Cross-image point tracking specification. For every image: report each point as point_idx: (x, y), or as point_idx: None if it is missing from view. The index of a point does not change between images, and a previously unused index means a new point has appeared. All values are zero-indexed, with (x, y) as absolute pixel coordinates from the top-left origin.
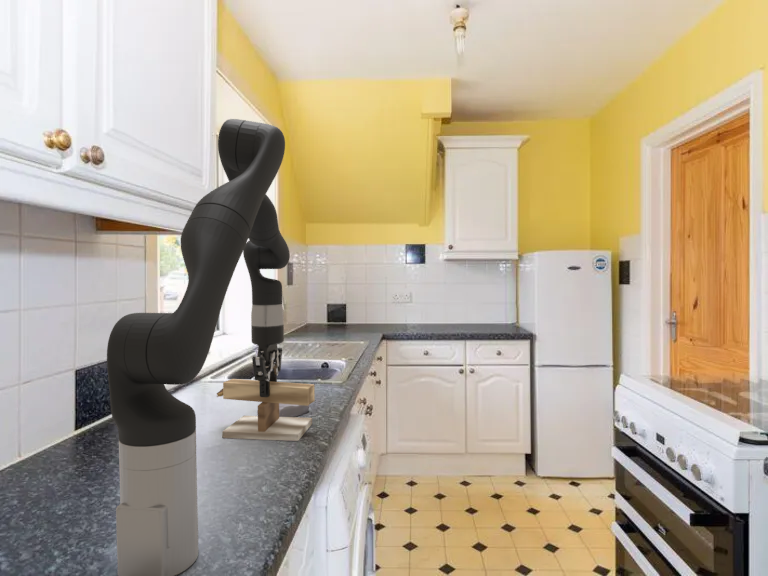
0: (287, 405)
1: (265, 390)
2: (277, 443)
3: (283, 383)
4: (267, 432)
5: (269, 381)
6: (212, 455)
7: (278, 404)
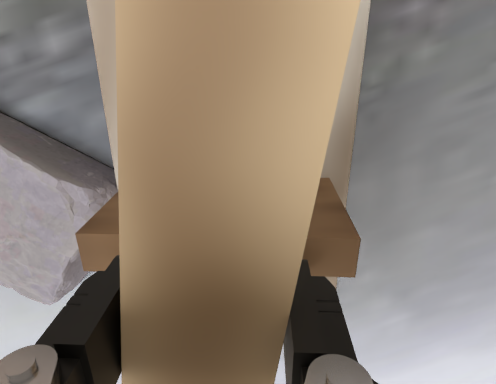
0: (28, 173)
1: (340, 308)
2: (388, 91)
3: (169, 215)
4: (341, 161)
5: (295, 348)
6: (492, 281)
7: (115, 204)
